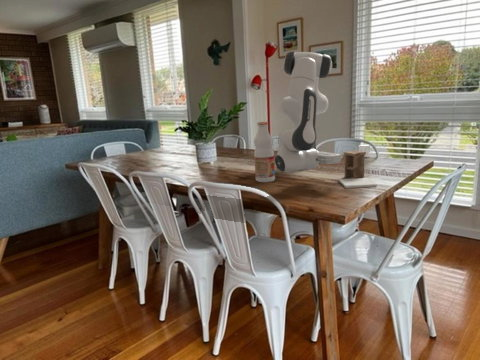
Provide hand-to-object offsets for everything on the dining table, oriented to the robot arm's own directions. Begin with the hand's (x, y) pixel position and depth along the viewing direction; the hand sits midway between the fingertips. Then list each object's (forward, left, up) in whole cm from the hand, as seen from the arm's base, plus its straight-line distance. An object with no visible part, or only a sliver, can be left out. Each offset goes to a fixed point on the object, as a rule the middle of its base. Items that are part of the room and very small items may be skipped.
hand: (334, 154), depth 164 cm
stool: (+11, +6, -12) cm, 17 cm away
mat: (+9, -7, -12) cm, 16 cm away
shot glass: (+30, +58, -13) cm, 67 cm away
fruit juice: (-31, +8, -12) cm, 35 cm away
